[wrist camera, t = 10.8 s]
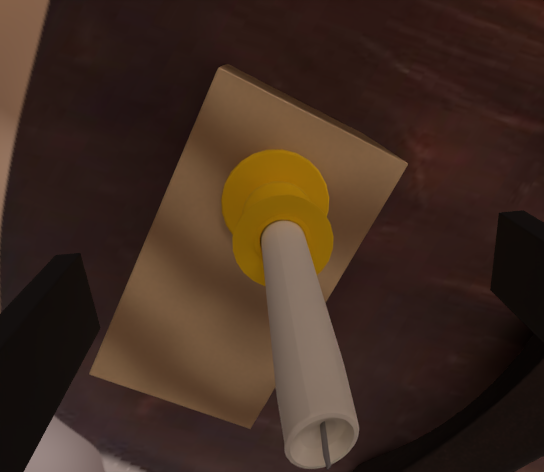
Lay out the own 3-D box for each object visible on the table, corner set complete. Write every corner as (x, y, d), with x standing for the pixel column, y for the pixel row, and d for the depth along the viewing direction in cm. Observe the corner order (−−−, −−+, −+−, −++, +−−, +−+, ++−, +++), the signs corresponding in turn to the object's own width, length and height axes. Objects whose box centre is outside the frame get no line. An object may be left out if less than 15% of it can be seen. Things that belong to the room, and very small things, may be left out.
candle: (345, 172, 22) (535, 397, 8) (302, 264, 24) (389, 591, 9) (244, 131, 21) (240, 299, 7) (206, 230, 23) (137, 535, 8)
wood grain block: (226, 63, 28) (218, 66, 20) (364, 134, 30) (409, 163, 22) (127, 296, 34) (88, 374, 26) (249, 342, 36) (250, 429, 28)
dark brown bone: (592, 239, 36) (345, 424, 46) (639, 261, 27) (314, 488, 37) (706, 344, 34) (422, 514, 44) (801, 409, 25) (411, 607, 35)
